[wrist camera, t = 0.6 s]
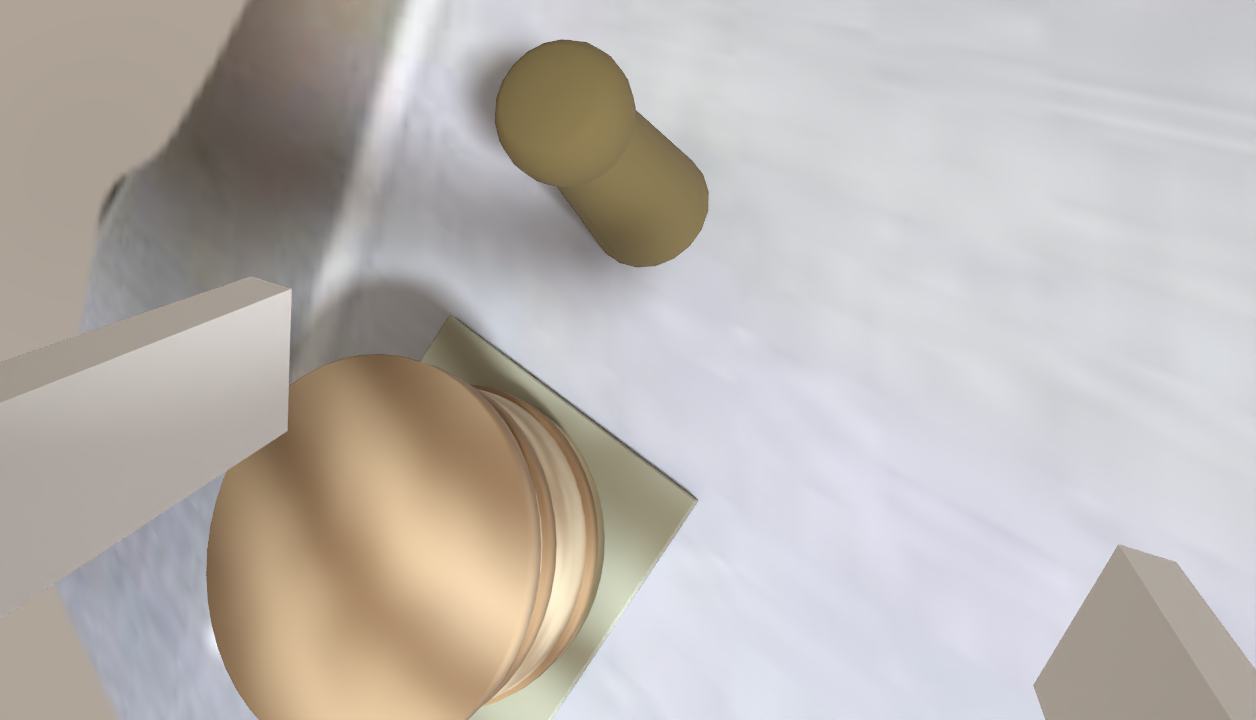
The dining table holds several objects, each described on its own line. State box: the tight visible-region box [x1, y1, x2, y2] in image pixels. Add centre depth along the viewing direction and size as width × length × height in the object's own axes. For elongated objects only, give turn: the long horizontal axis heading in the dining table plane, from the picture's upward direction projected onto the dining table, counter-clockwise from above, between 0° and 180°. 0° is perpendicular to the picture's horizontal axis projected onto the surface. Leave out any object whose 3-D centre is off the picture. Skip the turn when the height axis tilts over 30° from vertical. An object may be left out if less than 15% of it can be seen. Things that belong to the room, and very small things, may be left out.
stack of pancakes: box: [206, 316, 698, 720], centre depth 31 cm, size 16×16×9 cm
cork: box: [495, 40, 708, 267], centre depth 30 cm, size 6×6×11 cm
